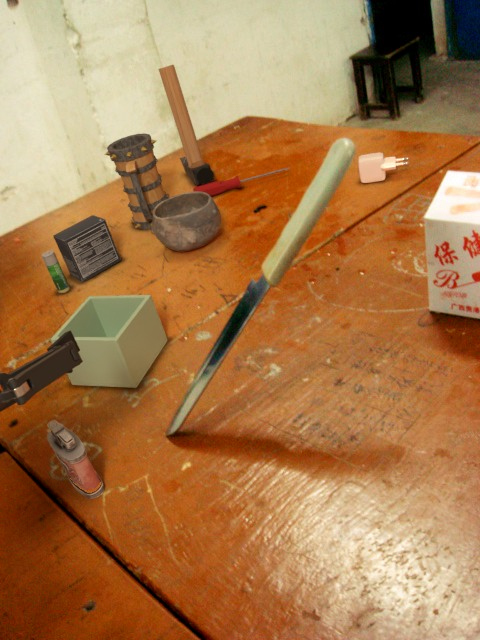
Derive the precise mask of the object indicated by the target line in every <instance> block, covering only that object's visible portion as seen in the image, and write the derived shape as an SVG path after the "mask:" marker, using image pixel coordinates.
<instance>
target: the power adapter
mask: <svg viewBox="0 0 480 640" xmlns="http://www.w3.org/2000/svg"><path fill="white" fill-rule="evenodd" d="M409 159H410V158H409V156H405V157H399V158H397V157H396V156H387V157H385V153H383V152H382V151H381V152H380V151H378V152H372V153H366V154H361V155H359V156H358V159H357V165H358V166H357V167H358V174H359V180H360V182H361V183H362V184H370V183H378V182H383V181H385V180H386V177H387V171H392V170H393V171H394V170H397V167H401V166H408V165H410V162H409Z"/></svg>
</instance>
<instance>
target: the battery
mask: <svg viewBox="0 0 480 640" xmlns="http://www.w3.org/2000/svg"><path fill="white" fill-rule="evenodd" d="M41 258H42V259H43V262H44V264H45V267H46V269H47V271H48V273H49V275H50V277H51V281H52V282H53V284H54V286H55V289H56V290H57V293H58V294H62V295H63V294H66V293H67V292H69V291H70V290H71V287H70V285H69V282H68V280H67V278H66V275H65V273H64V271H63V269H62V266H61V264H60V262H59V260H58V257H57V255H56V253H55V251H54V250H52V249H51V250H47V251H44V252H43V253H42V254H41Z"/></svg>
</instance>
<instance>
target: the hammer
mask: <svg viewBox="0 0 480 640" xmlns="http://www.w3.org/2000/svg"><path fill="white" fill-rule="evenodd" d="M158 72H159V76H160V78H161V82H162V86H163V88H164V91H165V94H166V95H165V96H166V99H167V101H168V103H169V107H170V111H171V113H172V117H173V120H174V123H175V127H176V130H177V132H178V136H179V139H180V143H181V145H182V148H183V152H184V156H182V157H180V158H179V160H180V162H181V165H182V167H183V169H184V171H185V174H186V175H187V177H188V178H189V179H190V180H191V181H192V183H193V184H194V185H195V186H201V185H204V184H208V183H212V182H213V181H214V180H215V178H214V177H215V172H214V171H213V169H212V167H211V164H210V163H207V162H205V161H204V159H203V156H202V152H201V149H200V146H199V142H198V139H197V136H196V133H195V129H194V126H193V123H192V120H191V116H190V113H189V110H188V107H187V103H186V100H185V97H184V93H183V90H182V87H181V83H180V80H179V77H178V74H177V70H176V67H175V64H170V65H166V66H164V67H161V68H158Z"/></svg>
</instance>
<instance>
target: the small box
mask: <svg viewBox="0 0 480 640" xmlns="http://www.w3.org/2000/svg"><path fill="white" fill-rule="evenodd" d="M107 223H108V222H107V220H106V219H105V218H103V217H99V216H97V215H94V214H92V215H90V216H88V217H85V218H84V219H82V220H80V221H78V222H77V223H74V224H73V225H71V226H68V227H66V228H65V229H63V230H61V231H59V232H57V233H55V234H53V235H52V236H53V240H54V241H55V243H56V245H57V248H58V250H59V253H60V254H61V257H62V259H63V261H64V263H65V265H66V268H67V270H68V272H69V274H70V277H72V278H74V279H76V280H78V281H79V282H81V283H84V282H86V281H88V280H90V279H92V278H94V277H95V276H97V275H98V274H100V273H102V272H104V271H106V270H107V269H109V268H111V267H112V266H115V265H116V264H118V263H120V262H121V261H122V256H120V254H119V251H118V249H117V246H116V242H115V241H114V238H113V236H112V233H111V231H110V228H109V226H108V224H107Z"/></svg>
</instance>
